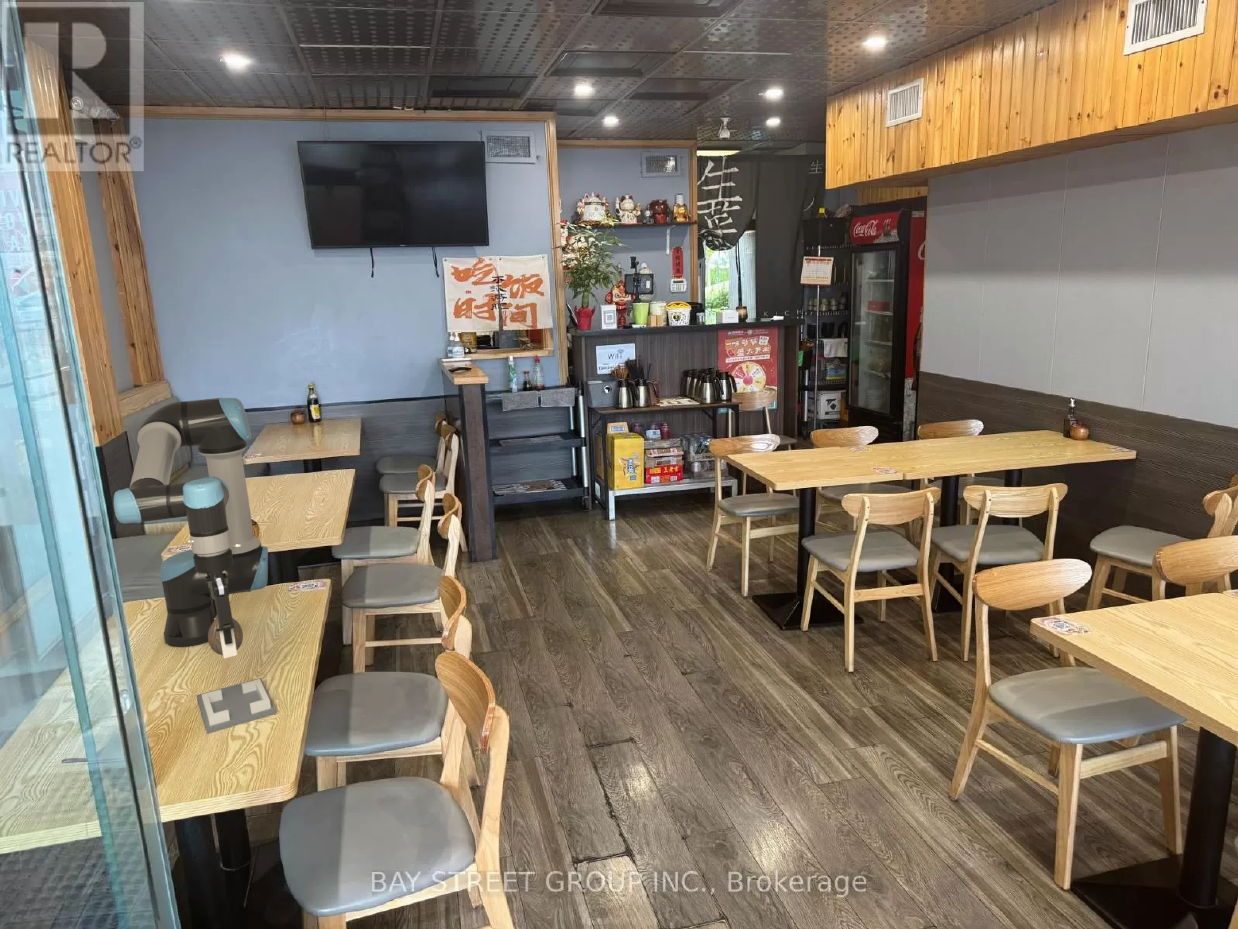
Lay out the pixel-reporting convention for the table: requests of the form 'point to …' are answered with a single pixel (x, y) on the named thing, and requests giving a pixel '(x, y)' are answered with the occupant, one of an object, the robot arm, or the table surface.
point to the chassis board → (235, 705)
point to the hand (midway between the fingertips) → (227, 649)
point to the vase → (215, 636)
